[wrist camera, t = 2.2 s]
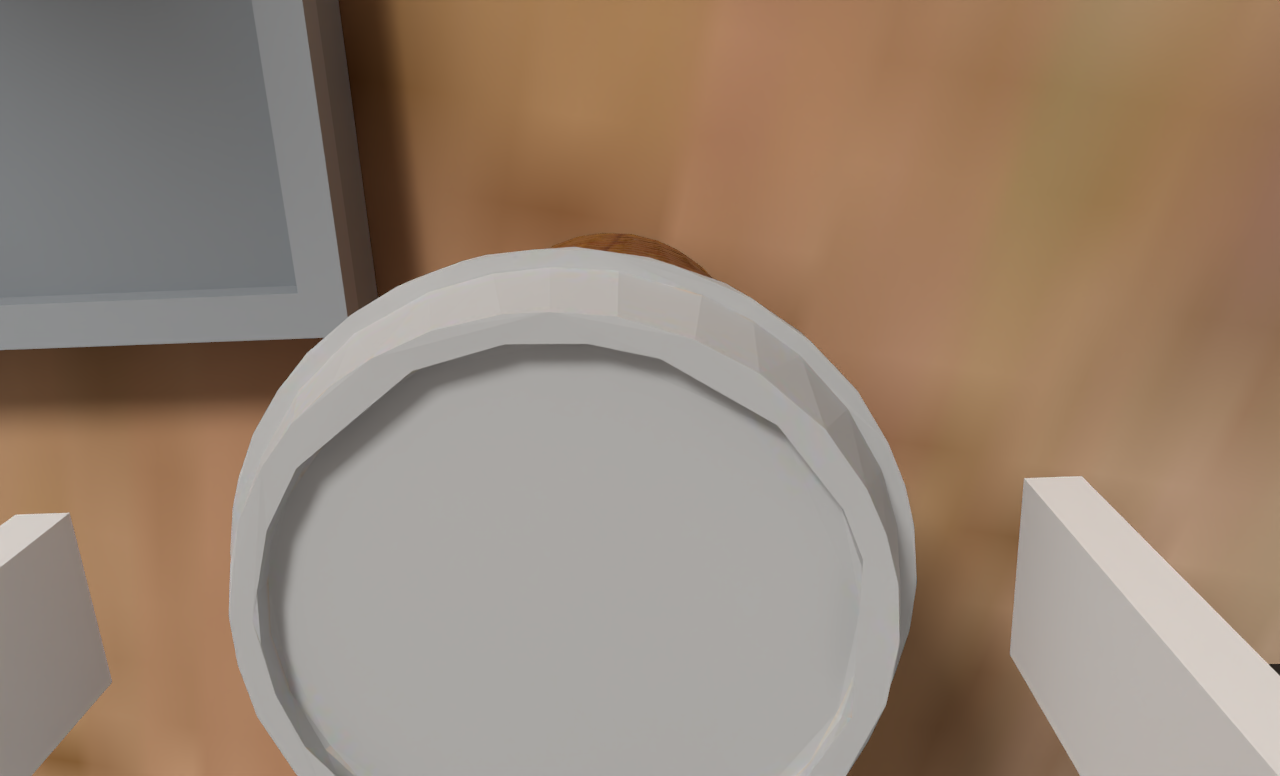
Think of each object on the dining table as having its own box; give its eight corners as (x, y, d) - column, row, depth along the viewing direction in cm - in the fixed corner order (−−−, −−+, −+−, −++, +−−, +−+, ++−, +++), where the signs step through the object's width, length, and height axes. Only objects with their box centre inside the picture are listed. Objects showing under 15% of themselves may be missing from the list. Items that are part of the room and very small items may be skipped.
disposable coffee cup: (684, 600, 26) (694, 1022, 15) (353, 429, 25) (84, 745, 14) (890, 291, 23) (1098, 516, 12) (529, 80, 22) (381, 108, 11)
